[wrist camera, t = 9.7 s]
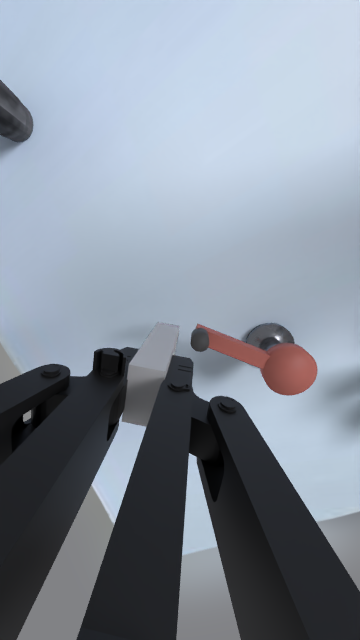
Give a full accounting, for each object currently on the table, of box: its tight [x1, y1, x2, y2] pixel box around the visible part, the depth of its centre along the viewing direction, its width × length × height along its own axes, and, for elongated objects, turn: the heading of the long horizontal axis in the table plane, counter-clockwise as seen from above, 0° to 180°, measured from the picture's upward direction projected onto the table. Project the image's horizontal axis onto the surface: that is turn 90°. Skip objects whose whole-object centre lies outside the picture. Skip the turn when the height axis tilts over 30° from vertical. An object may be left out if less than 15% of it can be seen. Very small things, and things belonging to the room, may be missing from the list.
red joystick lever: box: [191, 324, 317, 395], centre depth 27 cm, size 15×6×4 cm, turn 69°
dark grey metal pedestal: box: [246, 323, 294, 351], centre depth 33 cm, size 7×7×7 cm
